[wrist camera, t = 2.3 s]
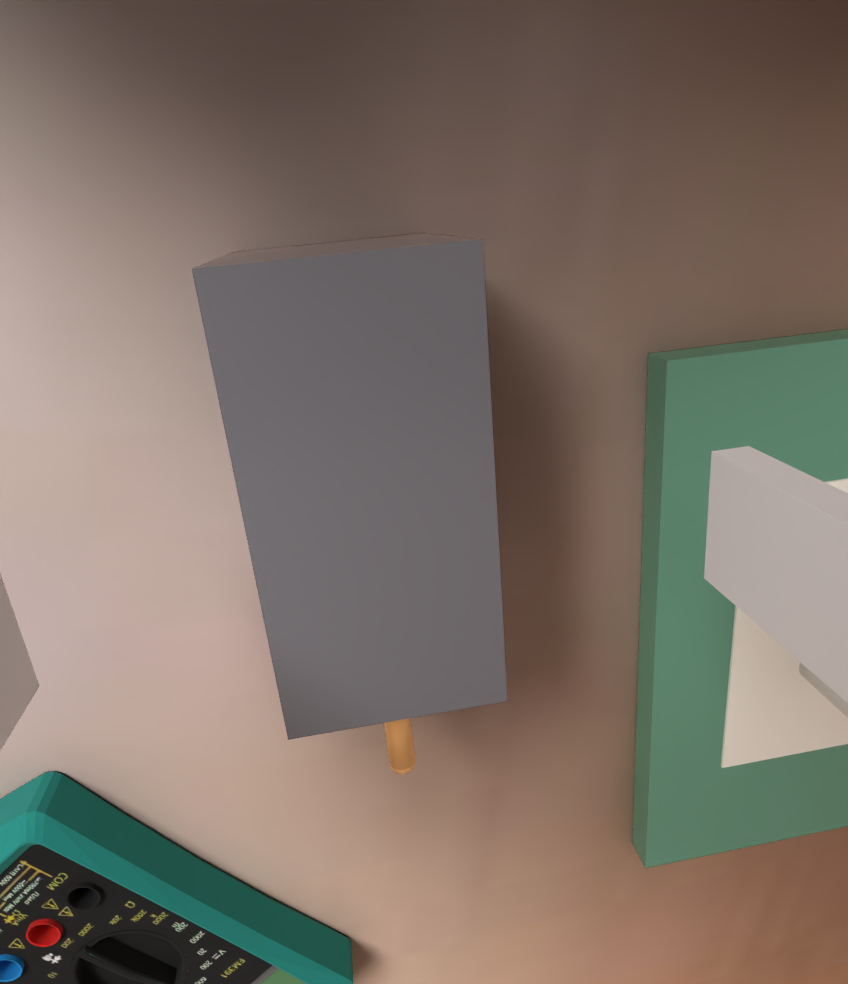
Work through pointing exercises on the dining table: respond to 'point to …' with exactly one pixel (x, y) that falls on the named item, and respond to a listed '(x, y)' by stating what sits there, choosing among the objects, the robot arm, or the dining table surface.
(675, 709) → the board
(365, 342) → the block
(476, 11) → the dining table surface
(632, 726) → the dining table surface
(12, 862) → the digital multimeter
